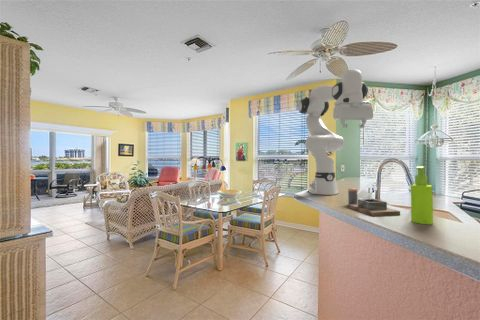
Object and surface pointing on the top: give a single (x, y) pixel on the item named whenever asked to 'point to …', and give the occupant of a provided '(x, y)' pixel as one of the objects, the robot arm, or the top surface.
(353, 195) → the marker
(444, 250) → the top surface
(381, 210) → the wooden socket board
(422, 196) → the soap dispenser
